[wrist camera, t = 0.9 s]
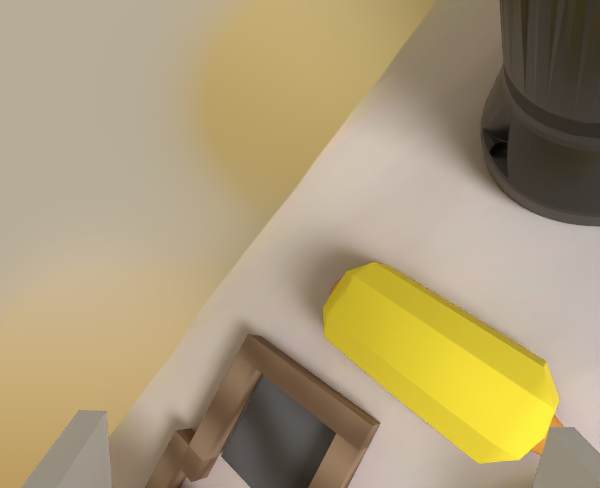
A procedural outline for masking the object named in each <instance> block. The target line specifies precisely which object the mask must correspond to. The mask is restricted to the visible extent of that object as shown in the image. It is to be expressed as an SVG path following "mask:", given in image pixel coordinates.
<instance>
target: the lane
mask: <svg viewBox="0 0 600 488" xmlns="http://www.w3.org/2000/svg"><path fill="white" fill-rule="evenodd" d="M261 374H263V375H264V376H263V378H262V380H261V382H260V384H259V386H258V388H257V390H256V392H255V393H254V395H253V397H252V399H251V401H250V403H249V405H248V407H247V409H246V410H245V412H244V414H243V416H242V418H241V420H240V422H239V424H238V425H237V427H236V429H235V431H234V433H233V435H232V437H231V439H230V441H229V442H228V444H227V446H226V448H225V450H224V452H223V454H222V456H221V457H222V458H223V459H224V460H225V461H226V462H227V463H228V464H229V465H230V466H231V467H232V468H233V469H234V470H235V471H236V472H237V474H238V475H239V476H240V477H241V478H242V479H243V480H244V481H245V482H246V483H247V484H248V485H249V486H250V487H251V488H347V487H348V485H349V483H350V481H351V479H352V478H353V476H354V474H355V472H356V470H357V468H358V466H359V464H360V462H361V460H362V458H363V456H364V454H365V452H366V450H367V448H368V446H369V444H370V443H371V441H372V439H373V437H374V435H375V433H376V431H377V429H378V427H379V425H380V423H379V422H378V421H377V420H375V419H374V418H373V417H371V416H370V415H368V414H367V413H366V412H364V411H363V410H362V409H360V408H359V407H357V406H356V405H355V404H353V403H352V402H351V401H349V400H348V399H346V398H345V397H344V396H342V395H341V394H340V393H338V392H337V391H335V390H334V389H333V388H331V387H330V386H329V385H327V384H326V383H324V382H323V381H322V380H320V379H319V378H318V377H316V376H315V375H313V374H312V373H311V372H309V371H308V370H307V369H305V368H304V367H302V366H301V365H300V364H298V363H297V362H296V361H294V360H293V359H291V358H290V357H289V356H287V355H286V354H285V353H283V352H282V351H280V350H279V349H278V348H276V347H275V346H274V345H272V344H271V343H269V342H268V341H267V340H265V339H264V338H263V337H261V336H257V335H251V334H248V336H247V337H246V339H245V341H244V343H243V345H242V347H241V349H240V350H239V352H238V354H237V356H236V358H235V360H234V362H233V364H232V365H231V367H230V369H229V371H228V373H227V375H226V377H225V379H224V380H223V382H222V384H221V386H220V388H219V390H218V392H217V393H216V395H215V397H214V399H213V401H212V403H211V405H210V407H209V408H208V410H207V412H206V414H205V416H204V418H203V420H202V422H201V423H200V425H199V427H198V429H197V431H196V433H195V432H194V431H193V430H192V429H185V430H178V431H175V433H174V435H173V437H172V439H171V441H170V442H169V444H168V446H167V448H166V450H165V452H164V454H163V455H162V457H161V459H160V461H159V463H158V465H157V467H156V469H155V470H154V472H153V474H152V476H151V478H150V480H149V482H148V483H147V485H146V487H145V488H180V486H181V485H182V483H183V481H184V479H185V477H186V476H187V477H188V479H189V480H190V481H191V482H193V481H196V480H199V479H202V478H206V477H207V476H208V474H209V472H210V471H211V469H212V467H213V465H214V463H215V461H216V459H217V457H218V455H219V454H220V452H221V450H222V448H223V446H224V444H225V442H226V440H227V438H228V437H229V435H230V433H231V431H232V429H233V427H234V425H235V423H236V422H237V420H238V418H239V416H240V414H241V412H242V410H243V408H244V406H245V405H246V403H247V401H248V399H249V397H250V395H251V393H252V391H253V390H254V388H255V386H256V384H257V382H258V380H259V378H260V376H261Z"/></svg>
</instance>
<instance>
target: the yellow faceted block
mask: <svg viewBox="0 0 600 488" xmlns="http://www.w3.org/2000/svg"><path fill="white" fill-rule="evenodd" d="M323 326H324V337H325V338H326V339H327V340H328V341H330V342H331V343H332V344H333V345H334V346H335V347H337V348H338V349H339V350H340V351H341V352H343V353H344V354H345V355H346V356H347V357H348V358H350V359H351V360H352V361H353V362H354V363H355V364H357V365H358V366H359V367H360V368H361V369H363V370H364V371H365V372H366V373H367V374H368V375H370V376H371V377H372V378H373V379H374V380H375V381H377V382H378V383H379V384H380V385H381V386H383V387H384V388H385V389H386V390H387V391H388V392H390V393H391V394H392V395H393V396H395V397H396V398H397V399H398V400H400V401H401V402H402V403H403V404H405V405H406V406H407V407H408V408H410V409H411V410H412V411H413V412H415V413H416V414H417V415H418V416H420V417H421V418H422V419H423V420H425V421H426V422H427V423H428V424H430V425H431V426H432V427H433V428H435V429H436V430H437V431H438V432H440V433H441V434H442V435H443V436H445V437H446V438H447V439H448V440H450V441H451V442H452V443H453V444H455V445H456V446H457V447H458V448H460V449H461V450H462V451H463V452H465V453H466V454H467V455H468V456H469V457H471V458H472V459H473V460H474V461H476V462H477V463H478V464H482V463H491V462H499V461H518V460H520V459H521V458H522V457H523V456H524V455H526V454H527V453H528V452H529V451H531V452H534V453H537V454H539V455H542V452H543V449H544V445H545V442H546V438H547V435H548V431H549V428H550V427H564V426H563V425H562V424H561V422H560V421H559V420H558V419H557V417H556V416H555V415H554V414H555V411H556V408H557V406H558V403H559V400H560V399H559V396H558V394H557V391H556V388H555V385H554V382H553V379H552V377H551V374H550V371H549V368H548V365H547V362H546V361H545V360H543V359H541V358H540V357H538V356H537V355H535V354H533V353H532V352H530V351H528V350H527V349H525V348H524V347H522V346H520V345H519V344H517V343H515V342H514V341H512V340H511V339H509V338H507V337H506V336H504V335H502V334H501V333H499V332H498V331H496V330H494V329H493V328H491V327H489V326H488V325H486V324H484V323H483V322H481V321H480V320H478V319H476V318H475V317H473V316H471V315H470V314H468V313H467V312H465V311H463V310H462V309H460V308H458V307H457V306H455V305H453V304H452V303H450V302H448V301H447V300H445V299H443V298H442V297H440V296H438V295H437V294H435V293H433V292H432V291H430V290H428V289H427V288H425V287H423V286H422V285H420V284H419V283H417V282H415V281H414V280H412V279H410V278H409V277H407V276H405V275H404V274H402V273H400V272H399V271H397V270H395V269H394V268H392V267H390V266H387V265H384V264H380V263H376V262H372V263H369V264H366V265H363V266H360V267H357V268H354V269H351V270H348V271H346V273H345V274H344V276H343V277H342V278H341V279H340V280H339V281H337V282H336V283H335V285H334V286H333V288H332V289H331V293H330V297H329V298H328V300H327V302H326V303H325V305H324V306H323Z"/></svg>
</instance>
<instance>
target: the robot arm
mask: <svg viewBox="0 0 600 488" xmlns="http://www.w3.org/2000/svg"><path fill="white" fill-rule="evenodd" d="M500 14H501V31H502V49H503V63H504V64H503V66H502V68H501V70H500V72H499V74H498V77H497V79H496V81H495V83H494V85H493V87H492V89H491V92H490V94H489V96H488V98H487V101H486V103H485V107H484V110H483V115H482V121H481V140H482V147H483V153H484V158H485V162H486V164H487V167H488V169H489V171H490V174H491V175H492V177H493V179H494V180H495V182H496V183H497V184H498V186H499V187H500V188H501V189H502V190H503V191H504V192H505V193H506V194H507V195H508V196H509V197H510V198H512V199H513V200H514V201H515V202H517V203H518V204H520V205H521V206H523V207H525V208H526V209H528V210H530V211H532V212H534V213H536V214H539V215H541V216H544V217H547V218H550V219H553V220H556V221H560V222H565V223H569V224H576V225H585V226H600V0H500ZM21 488H112V479H111V465H110V451H109V438H108V424H107V412H106V411H83V410H82V411H81V410H79V411H78V412H77V414H76V415H75V416H74V418H73V419H72V420H71V422H70V423H69V425H68V426H67V427H66V428H65V430H64V431H63V432H62V434H61V435H60V436H59V438H58V439H57V440H56V442H55V443H54V444H53V446H52V447H51V449H50V450H49V451H48V452H47V454H46V455H45V456H44V458H43V459H42V461H41V462H40V463H39V465H38V466H37V467H36V469H35V470H34V471H33V473H32V474H31V475H30V476H29V478H28V479H27V481H26V482H25V483H24V485H23V486H22V487H21ZM532 488H600V453H599V452H598V451H597V450H596V449H595V448H594V447H593V446H592V445H591V444H590V443H589V442H588V441H587V440H586V439H585V438H584V437H583V436H582V435H581V434H580V433H579V432H578V431H577V430H576V429H575V428H574V427H550V428H549V431H548V435H547V438H546V442H545V445H544V449H543V452H542V455H541V459H540V462H539V466H538V469H537V473H536V476H535V480H534V483H533V487H532Z"/></svg>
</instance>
